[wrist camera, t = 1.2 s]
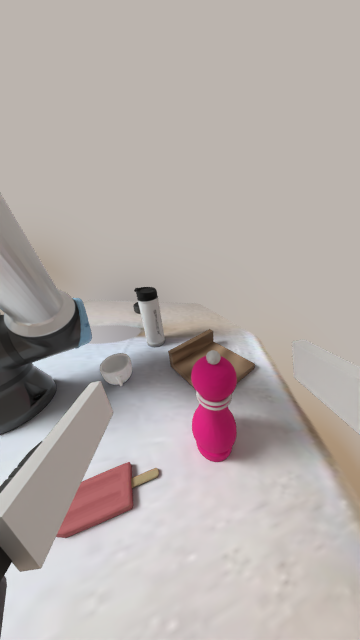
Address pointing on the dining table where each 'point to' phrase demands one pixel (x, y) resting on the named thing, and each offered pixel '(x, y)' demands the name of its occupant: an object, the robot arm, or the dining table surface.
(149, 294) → the travel mug
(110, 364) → the teacup
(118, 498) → the popsicle
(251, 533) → the dining table surface
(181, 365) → the spice board
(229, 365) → the pepper mill
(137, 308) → the smart speaker
